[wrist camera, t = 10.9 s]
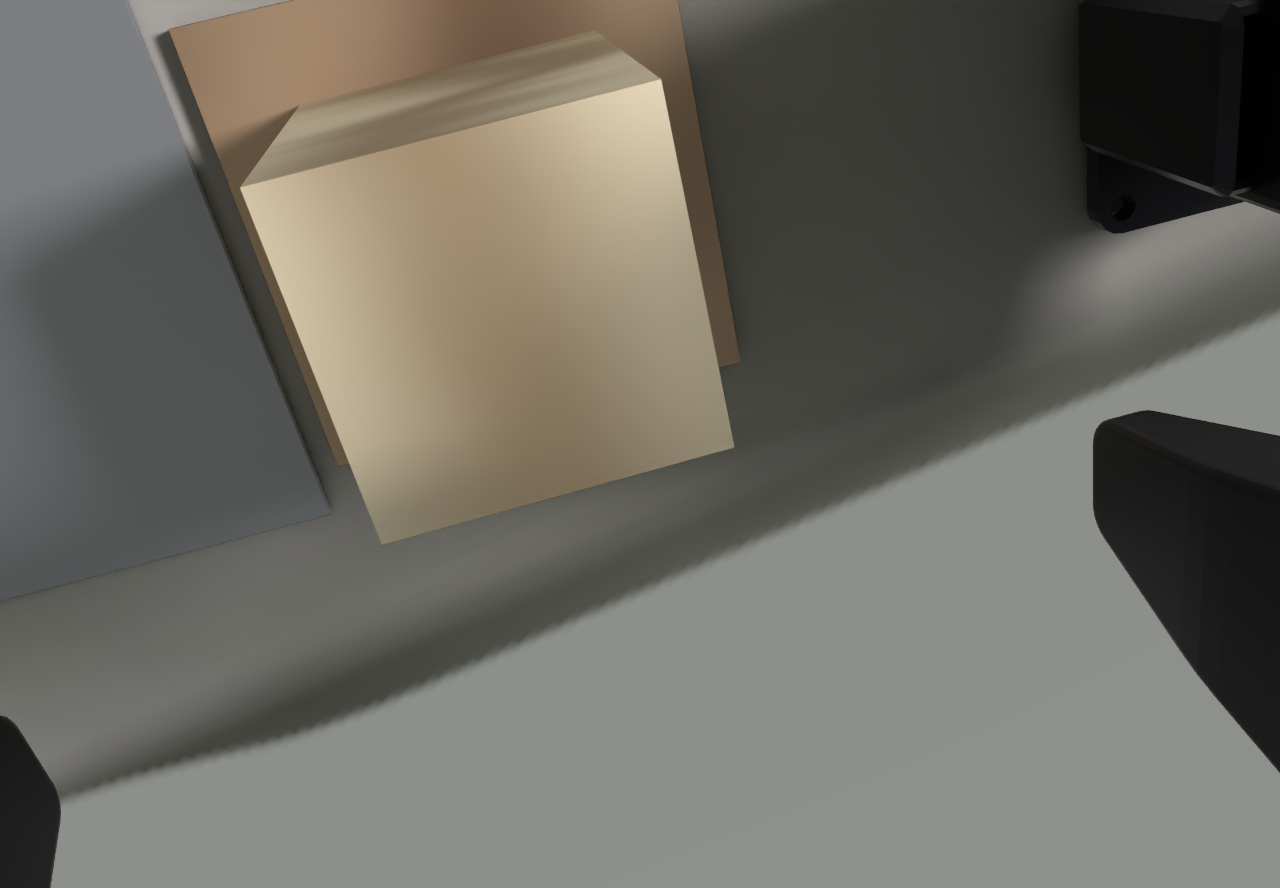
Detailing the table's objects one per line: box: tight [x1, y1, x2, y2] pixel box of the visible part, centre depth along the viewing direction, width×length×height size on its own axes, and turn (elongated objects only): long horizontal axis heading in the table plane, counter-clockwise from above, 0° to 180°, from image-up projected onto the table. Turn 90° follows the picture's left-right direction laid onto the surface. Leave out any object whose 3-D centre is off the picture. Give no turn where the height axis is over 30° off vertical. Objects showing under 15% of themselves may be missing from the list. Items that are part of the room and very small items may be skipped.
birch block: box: [240, 30, 735, 545], centre depth 16 cm, size 5×5×6 cm
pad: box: [169, 0, 740, 467], centre depth 19 cm, size 8×8×1 cm
